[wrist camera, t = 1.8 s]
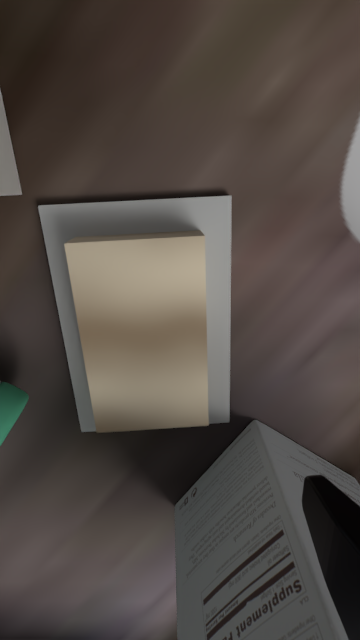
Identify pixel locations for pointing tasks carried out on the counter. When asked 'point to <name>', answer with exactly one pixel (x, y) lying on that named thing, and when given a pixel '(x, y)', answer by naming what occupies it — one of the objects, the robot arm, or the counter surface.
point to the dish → (7, 159)
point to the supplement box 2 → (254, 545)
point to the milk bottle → (10, 407)
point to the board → (142, 327)
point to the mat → (136, 219)
